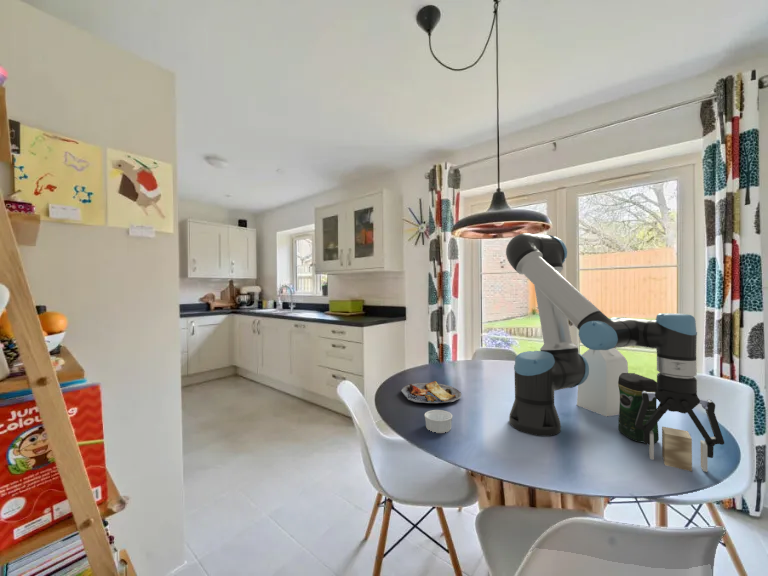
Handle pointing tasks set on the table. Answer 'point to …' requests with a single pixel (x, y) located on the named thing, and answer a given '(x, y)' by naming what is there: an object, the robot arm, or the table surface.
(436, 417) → the ramekin
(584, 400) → the milk
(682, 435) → the beech block
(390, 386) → the table surface
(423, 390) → the food plate
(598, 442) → the table surface
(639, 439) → the coffee jar
